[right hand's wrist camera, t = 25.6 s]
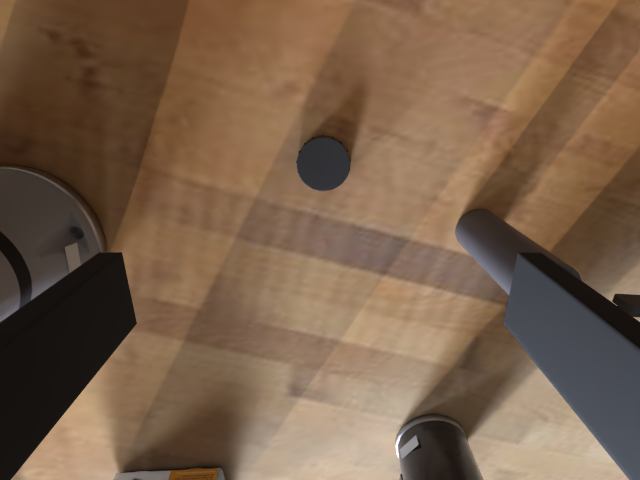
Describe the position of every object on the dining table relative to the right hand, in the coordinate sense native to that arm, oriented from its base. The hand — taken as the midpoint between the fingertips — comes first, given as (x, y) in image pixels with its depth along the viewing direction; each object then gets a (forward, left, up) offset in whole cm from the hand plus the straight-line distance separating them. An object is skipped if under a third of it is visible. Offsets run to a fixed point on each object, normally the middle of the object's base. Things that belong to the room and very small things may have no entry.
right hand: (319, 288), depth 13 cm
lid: (0, 0, -25) cm, 25 cm away
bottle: (+3, -18, -26) cm, 32 cm away
